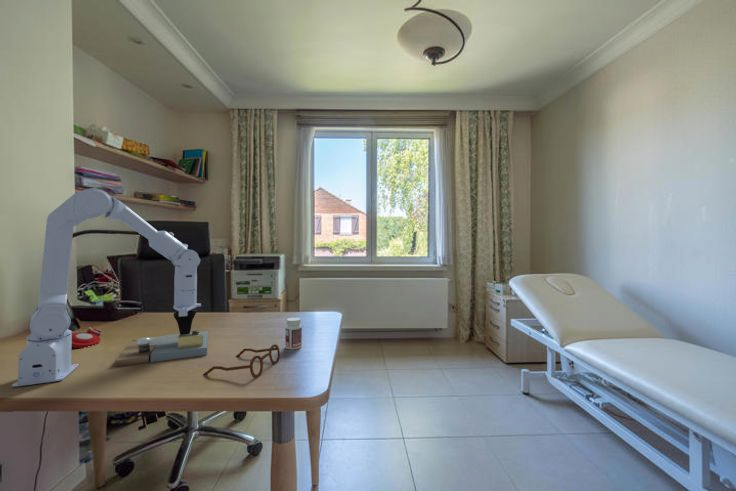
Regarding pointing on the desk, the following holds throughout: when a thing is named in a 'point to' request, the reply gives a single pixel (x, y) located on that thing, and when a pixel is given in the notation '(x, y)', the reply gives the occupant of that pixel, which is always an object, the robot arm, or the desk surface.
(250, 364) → the glasses
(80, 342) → the tracker holder
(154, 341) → the bar
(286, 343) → the pill bottle
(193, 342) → the brass keeper
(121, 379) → the desk surface
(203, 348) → the door panel
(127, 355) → the jamb board
